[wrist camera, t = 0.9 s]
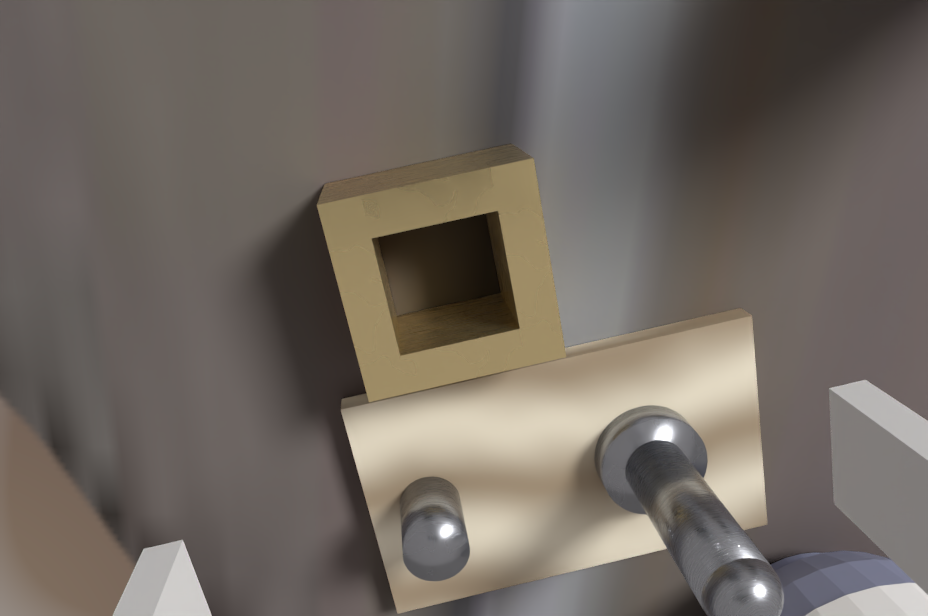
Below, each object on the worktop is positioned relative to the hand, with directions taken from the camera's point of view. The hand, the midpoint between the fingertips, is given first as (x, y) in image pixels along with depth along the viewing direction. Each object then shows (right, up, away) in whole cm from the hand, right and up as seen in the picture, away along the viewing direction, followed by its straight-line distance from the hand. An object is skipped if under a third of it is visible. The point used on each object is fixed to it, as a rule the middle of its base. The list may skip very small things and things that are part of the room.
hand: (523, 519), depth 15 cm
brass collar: (-2, +7, +20) cm, 21 cm away
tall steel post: (+8, -3, +23) cm, 24 cm away
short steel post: (-3, -5, +22) cm, 23 cm away
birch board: (+4, -4, +24) cm, 24 cm away
